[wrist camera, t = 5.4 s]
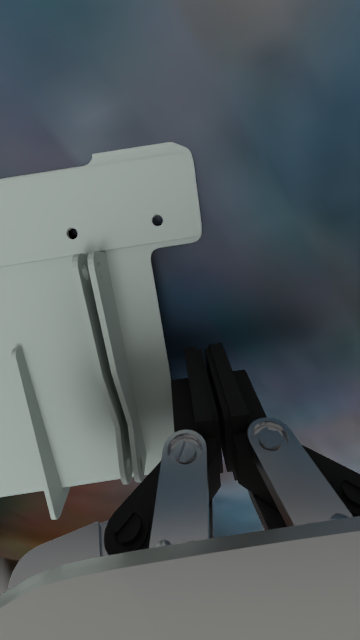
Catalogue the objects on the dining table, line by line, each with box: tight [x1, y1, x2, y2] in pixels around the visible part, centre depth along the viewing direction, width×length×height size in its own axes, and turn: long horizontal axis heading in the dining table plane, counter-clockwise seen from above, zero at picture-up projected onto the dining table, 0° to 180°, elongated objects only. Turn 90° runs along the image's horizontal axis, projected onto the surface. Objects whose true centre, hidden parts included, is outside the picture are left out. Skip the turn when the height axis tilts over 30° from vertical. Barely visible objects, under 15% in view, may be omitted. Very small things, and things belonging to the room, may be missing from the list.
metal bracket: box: [0, 142, 202, 520], centre depth 11 cm, size 14×6×15 cm
